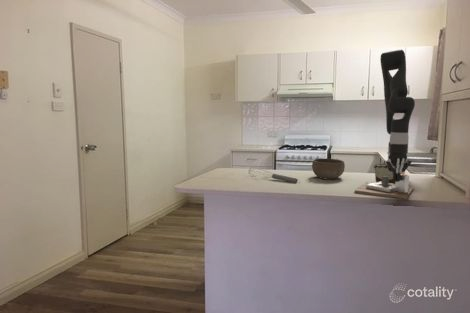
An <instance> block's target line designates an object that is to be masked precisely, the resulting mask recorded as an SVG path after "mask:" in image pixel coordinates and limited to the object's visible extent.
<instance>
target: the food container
mask: <svg viewBox="0 0 470 313" xmlns="http://www.w3.org/2000/svg"><path fill="white" fill-rule="evenodd" d="M391 165H392V164H391ZM373 169H374V176H375V177H374V178H375V183H376V182H380V181H381V182H382V176H388V177H389V182H388V183H392V184H395V183H396V182H395V181H394V180H393V172H390V171H389V170H388V168H387V167H386V165H385V163H376V164H374V165H373Z"/></svg>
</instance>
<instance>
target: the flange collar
mask: <svg viewBox="0 0 470 313" xmlns="http://www.w3.org/2000/svg"><path fill="white" fill-rule="evenodd" d="M370 183H371V184H366V188H369V189H374V190H380V191H385V192H393V191H397V192H402V193H406V192H408V186H409V187H410V175H408V174H406V173H405V174H401V179H400V181H399V182H396V183H395V184H392V183H388V186H387V187H386V186H381V184H382V182H381V181H380V182H376V181H375V182H370Z"/></svg>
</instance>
